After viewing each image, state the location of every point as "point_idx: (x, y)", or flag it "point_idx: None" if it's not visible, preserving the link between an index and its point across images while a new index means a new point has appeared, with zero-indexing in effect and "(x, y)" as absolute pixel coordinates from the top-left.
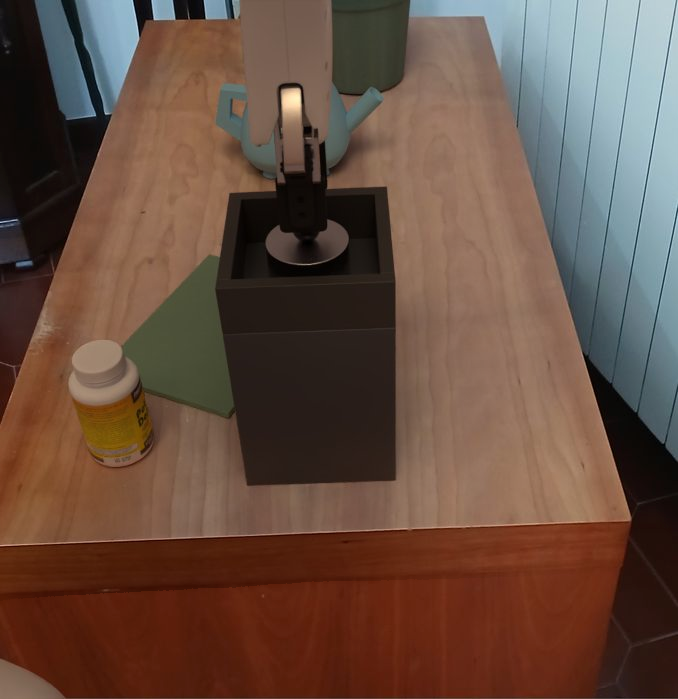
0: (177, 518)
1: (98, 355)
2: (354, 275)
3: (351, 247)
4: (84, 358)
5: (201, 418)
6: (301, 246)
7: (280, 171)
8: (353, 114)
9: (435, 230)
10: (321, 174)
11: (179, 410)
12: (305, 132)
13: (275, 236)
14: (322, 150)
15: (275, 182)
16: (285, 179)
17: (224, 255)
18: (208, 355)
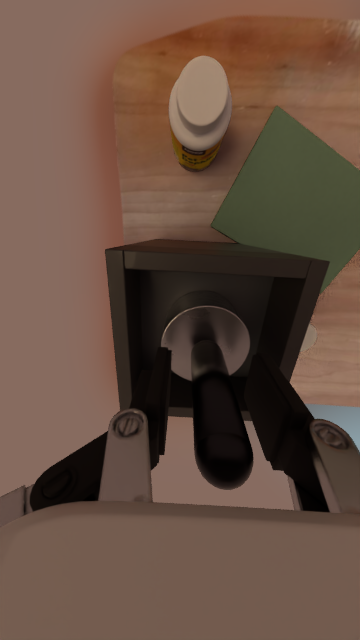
0: (133, 195)
1: (202, 94)
2: (128, 387)
3: None
4: (200, 74)
5: (213, 206)
6: (193, 342)
7: (49, 473)
8: None
9: (351, 358)
10: (250, 412)
11: (223, 189)
12: (291, 466)
13: (218, 316)
14: (263, 450)
15: (146, 401)
16: (76, 451)
17: (174, 259)
18: (271, 208)
